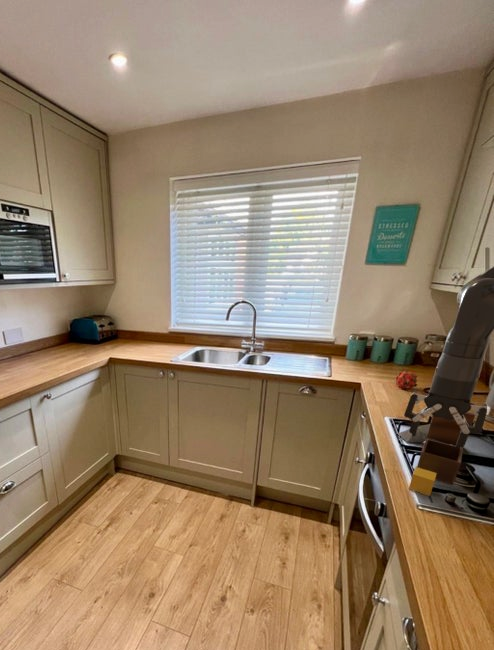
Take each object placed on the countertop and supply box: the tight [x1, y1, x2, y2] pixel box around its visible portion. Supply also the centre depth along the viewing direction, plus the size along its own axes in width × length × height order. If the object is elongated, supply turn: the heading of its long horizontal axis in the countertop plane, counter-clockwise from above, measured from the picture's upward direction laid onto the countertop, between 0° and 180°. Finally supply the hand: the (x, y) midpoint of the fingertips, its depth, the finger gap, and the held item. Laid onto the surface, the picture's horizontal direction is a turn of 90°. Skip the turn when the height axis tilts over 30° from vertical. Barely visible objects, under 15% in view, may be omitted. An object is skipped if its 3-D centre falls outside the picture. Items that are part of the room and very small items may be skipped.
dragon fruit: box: [394, 370, 418, 390], centre depth 155 cm, size 8×8×12 cm
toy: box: [408, 466, 437, 497], centre depth 82 cm, size 4×4×4 cm
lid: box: [427, 411, 476, 448], centre depth 89 cm, size 11×8×5 cm
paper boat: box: [397, 423, 431, 444], centre depth 106 cm, size 12×6×9 cm
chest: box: [416, 439, 464, 486], centre depth 89 cm, size 10×8×7 cm
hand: (434, 440), depth 78 cm, fingers open, 8 cm apart
